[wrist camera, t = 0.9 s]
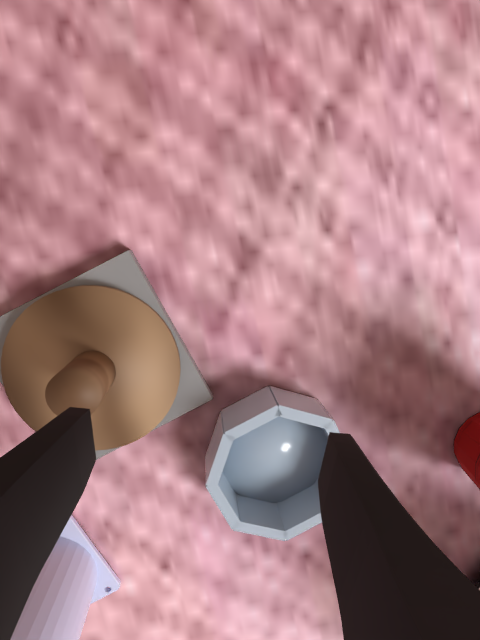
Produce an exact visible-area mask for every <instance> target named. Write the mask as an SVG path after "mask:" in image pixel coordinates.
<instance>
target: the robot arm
mask: <svg viewBox="0 0 480 640" xmlns="http://www.w3.org/2000/svg"><path fill="white" fill-rule="evenodd" d="M95 461H96V453H95V445H94V437H93V429H92V421H91V413H90V409H86V408H76V407H69V408H68V409H66V410H65V411H63V412H62V413H61V414H59V415H58V416H57V417H55V418H54V419H53V420H51V421H50V422H49V423H47V424H46V425H45V426H43V427H42V428H41V429H39V430H38V431H37V432H35V433H34V434H33V435H31V436H30V437H28V438H27V439H26V440H24V441H23V442H21V443H20V444H19V445H17V446H16V447H15V448H13V449H12V450H10V451H9V452H8V453H6V454H5V455H3V456H2V457H0V640H79V639H80V636H81V632H82V629H83V626H84V623H85V619H86V616H87V613H88V610H89V606H90V604H92V603H93V602H95V601H97V600H99V599H101V598H103V597H105V596H107V595H109V594H111V593H113V592H115V591H117V590H118V589H119V587H120V583H121V581H120V579H119V578H118V577H117V575H116V574H115V573H114V571H113V570H112V569H111V567H110V566H109V565H108V563H107V562H106V560H105V559H104V558H103V556H102V555H101V554H100V552H99V551H98V550H97V548H96V547H95V546H94V544H93V543H92V541H91V540H90V539H89V537H88V536H87V535H86V533H85V532H84V531H83V529H82V528H81V527H80V525H79V524H78V522H77V521H76V520H75V518H74V517H73V516H72V513H73V511H74V509H75V507H76V505H77V503H78V501H79V499H80V498H81V496H82V494H83V492H84V489H85V487H86V484H87V482H88V479H89V477H90V474H91V472H92V469H93V466H94V464H95ZM318 490H319V502H320V512H321V519H322V524H323V529H324V534H325V539H326V544H327V549H328V554H329V559H330V563H331V568H332V573H333V578H334V583H335V588H336V593H337V597H338V603H339V609H340V614H341V620H342V628H343V636H344V640H480V590H479V589H478V588H477V587H476V586H475V585H474V584H473V583H472V582H471V581H470V580H469V579H468V578H467V577H466V576H465V575H464V574H463V573H462V572H461V571H460V570H459V569H458V568H457V567H456V566H455V565H454V564H453V563H452V562H451V561H450V560H449V559H448V558H447V557H446V556H445V554H444V553H443V552H442V551H441V550H440V549H439V548H438V547H437V546H436V545H435V544H434V543H433V542H432V540H431V539H430V538H429V537H428V536H427V535H426V534H425V532H424V531H423V530H422V529H421V528H420V527H419V525H418V524H417V523H416V522H415V521H414V519H413V518H412V517H411V516H410V515H409V513H408V512H407V511H406V510H405V508H404V507H403V506H402V505H401V503H400V502H399V501H398V499H397V498H396V497H395V496H394V494H393V493H392V492H391V490H390V489H389V488H388V486H387V485H386V484H385V482H384V481H383V480H382V478H381V477H380V476H379V474H378V473H377V471H376V470H375V469H374V467H373V466H372V464H371V463H370V462H369V460H368V459H367V457H366V456H365V454H364V453H363V452H362V450H361V449H360V447H359V446H358V444H357V443H356V441H355V440H354V439H353V437H352V436H351V435H350V434H343V433H333V432H329V436H328V441H327V445H326V449H325V453H324V457H323V461H322V466H321V470H320V474H319V478H318ZM107 587H110V588H107Z"/></svg>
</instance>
